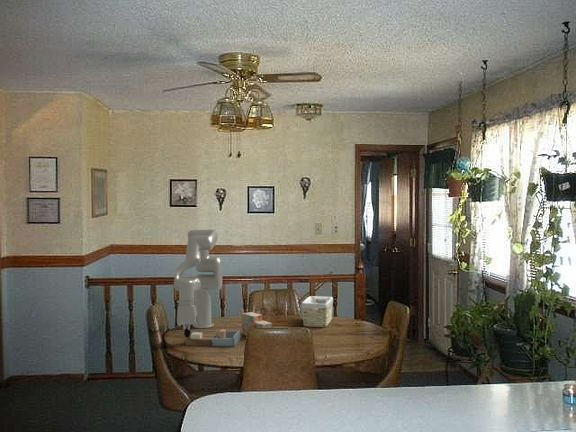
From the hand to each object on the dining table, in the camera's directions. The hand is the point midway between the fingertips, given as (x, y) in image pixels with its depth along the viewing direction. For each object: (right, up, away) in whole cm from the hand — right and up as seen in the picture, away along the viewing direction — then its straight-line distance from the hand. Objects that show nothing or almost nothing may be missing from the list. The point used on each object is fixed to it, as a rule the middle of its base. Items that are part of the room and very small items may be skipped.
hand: (187, 336), depth 319 cm
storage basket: (+72, -1, +47) cm, 86 cm away
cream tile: (+5, -1, -1) cm, 5 cm away
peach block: (+17, 0, +5) cm, 18 cm away
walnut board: (+7, -3, +3) cm, 9 cm away
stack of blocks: (+37, -3, +13) cm, 39 cm away
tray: (+21, -3, +2) cm, 21 cm away
